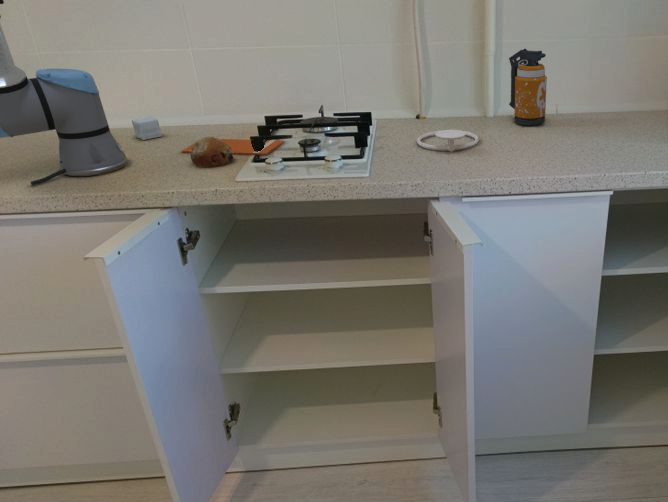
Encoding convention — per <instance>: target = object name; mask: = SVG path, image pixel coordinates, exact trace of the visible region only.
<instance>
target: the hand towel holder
mask: <svg viewBox="0 0 668 502" xmlns="http://www.w3.org/2000/svg"><path fill="white" fill-rule="evenodd" d="M430 137H436V138H437V139H440V140H443V141H447V145H434V144H428V143H424V142H423V141H422V140H423V139H426V138H430ZM465 137H469V138H472V139H474V140H473V141H471V142H467V143H464V144H463V143H462V144H455V142H454V141H455V140H460V139H462V138H465ZM479 141H480V140H479V137H478V135H477V134H475V133H473V132H470V131H465V130H460V129H444V130H435V131H428V132H425V133H422V134H421V135H419V136H418V137H417V138H416V143H417V144H418V146H419V147H421V148H423V149H427V150H430V151H431V150H433V151H442V152H443V151H448V152H449V153H451V152H454V151H460V150H466V149H469V148H472V147H474V146H476V145H477V144H478V143H479Z"/></svg>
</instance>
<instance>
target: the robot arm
mask: <svg viewBox="0 0 668 502" xmlns="http://www.w3.org/2000/svg"><path fill="white" fill-rule="evenodd" d="M4 4H5V1H4V0H0V5H4ZM0 19H2V16H1V15H0ZM4 32H5V31H4V29H3V27H2V23H1V22H0V139H1V138H2V139H3V138H14V137H20V136H25V135H30V134H37V133H42V132H48V131H55V132H56V135H57V138H58V153H59V154H58V155H59V161H58V163H59V168H60V170H57V171H56V172H53V173H51V174H49V175H47V176H44V177H42V178H39V179H36V180H31V181H30V185H31V186H35V185H39V184H42V183H45V182H48V181H50V180H51V179H54V178H56V177H58V176H60V175H65V176H69V177H92V176H100V175H104V174H108V173H113V172H115V171H118V170H120V169H122V168H125V166H127V165H128V158H127V156H126V153H125V152H124V151H123V149H122V148H123V147H122V145H121V143H120V142H119V141H117V140H116V138H115V137H114V136H113V133H112V132H111V129H110V126H109V122H108V119H107V116H106V113H105V109H104V106H103V104H102V99H101V97H100V90H99V89H98V87H97V84H96V81H95V79H94V77H93V75H92V74H91V73H89V72H88V71H84V70H82V69H81V70H80V69H74V68H73V69H72V68H45V69H44V68H42V69H37V70H36V71H35V77H31V78H28V76H27V74H26V71H24V70H23V69H22V68H20V67H18V66H16V64H15V62H14V58H13V56H12V52H11V50H10V47H9V44H8V41H7V38H6V35H5V33H4Z"/></svg>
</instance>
